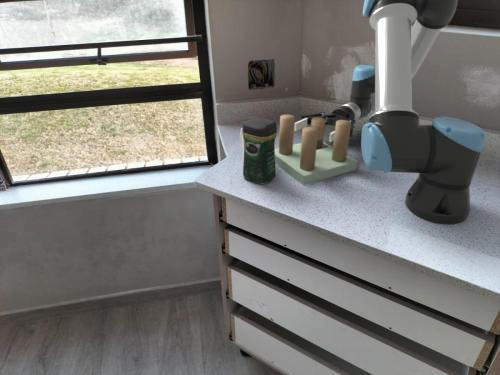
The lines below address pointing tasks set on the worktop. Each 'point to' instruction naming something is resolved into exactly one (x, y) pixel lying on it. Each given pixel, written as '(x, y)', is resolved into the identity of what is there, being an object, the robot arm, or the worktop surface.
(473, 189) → the worktop surface
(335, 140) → the upturned stool
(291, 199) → the worktop surface
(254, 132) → the coffee jar
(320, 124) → the walnut leg
